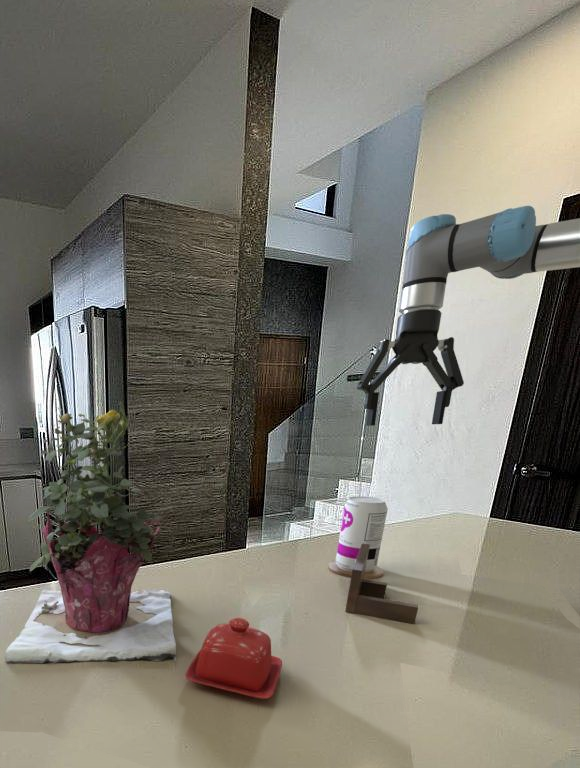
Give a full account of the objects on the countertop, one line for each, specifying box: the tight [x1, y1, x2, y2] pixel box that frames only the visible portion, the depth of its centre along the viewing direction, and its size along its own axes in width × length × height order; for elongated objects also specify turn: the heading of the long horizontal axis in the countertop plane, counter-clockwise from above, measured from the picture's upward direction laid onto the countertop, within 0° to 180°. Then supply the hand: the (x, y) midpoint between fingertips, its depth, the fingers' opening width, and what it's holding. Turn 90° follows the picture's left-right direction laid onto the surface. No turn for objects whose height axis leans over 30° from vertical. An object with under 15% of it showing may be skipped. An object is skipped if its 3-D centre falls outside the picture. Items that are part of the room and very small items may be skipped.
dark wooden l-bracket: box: [344, 544, 419, 625], centre depth 88 cm, size 11×18×8 cm, turn 151°
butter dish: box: [184, 617, 283, 700], centre depth 64 cm, size 12×12×8 cm
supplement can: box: [335, 496, 388, 572], centre depth 103 cm, size 8×8×15 cm
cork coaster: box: [327, 560, 384, 580], centre depth 105 cm, size 11×11×1 cm
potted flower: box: [4, 401, 177, 664], centre depth 74 cm, size 27×25×35 cm
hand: (403, 425), depth 101 cm, fingers open, 13 cm apart
